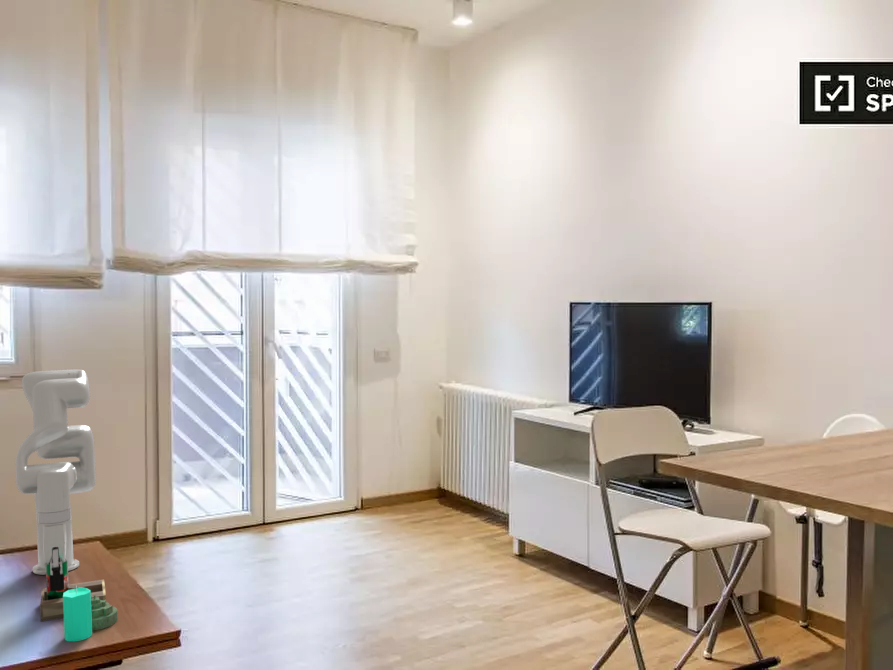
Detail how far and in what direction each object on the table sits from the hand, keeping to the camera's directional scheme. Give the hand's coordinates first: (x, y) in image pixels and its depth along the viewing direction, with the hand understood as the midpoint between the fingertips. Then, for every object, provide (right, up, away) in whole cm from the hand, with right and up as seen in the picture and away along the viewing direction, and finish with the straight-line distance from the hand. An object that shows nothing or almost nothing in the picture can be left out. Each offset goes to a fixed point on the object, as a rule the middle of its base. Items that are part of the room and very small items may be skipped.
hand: (57, 586), depth 208 cm
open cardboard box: (+4, -6, +2) cm, 7 cm away
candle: (+14, -6, -18) cm, 24 cm away
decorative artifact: (+14, -6, -10) cm, 18 cm away
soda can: (0, -5, 0) cm, 5 cm away
